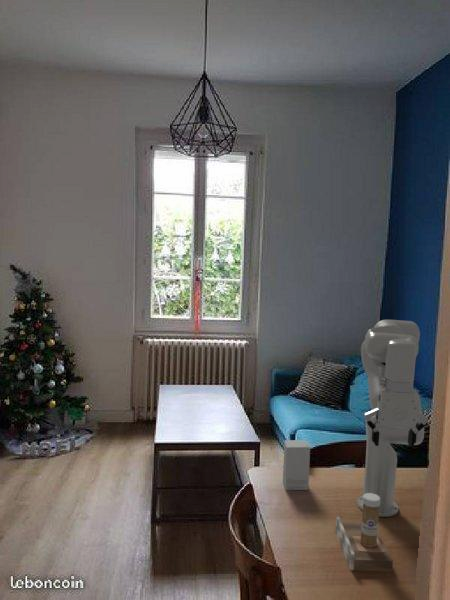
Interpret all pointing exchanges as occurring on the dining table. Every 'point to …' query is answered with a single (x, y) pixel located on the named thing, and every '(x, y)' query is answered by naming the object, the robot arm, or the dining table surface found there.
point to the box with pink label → (362, 549)
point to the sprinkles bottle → (370, 520)
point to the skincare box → (296, 465)
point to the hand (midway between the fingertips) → (393, 444)
